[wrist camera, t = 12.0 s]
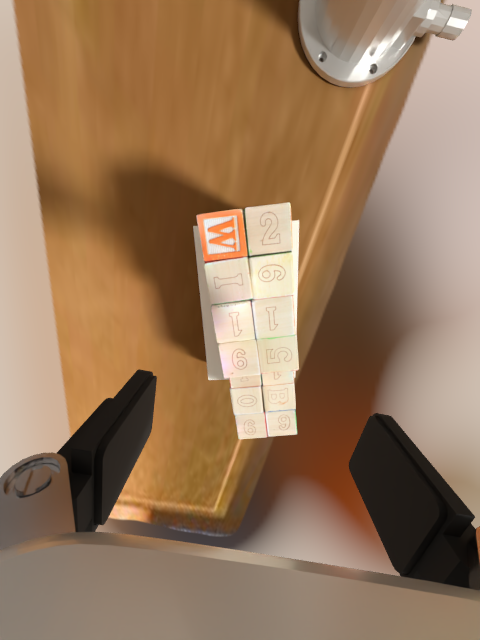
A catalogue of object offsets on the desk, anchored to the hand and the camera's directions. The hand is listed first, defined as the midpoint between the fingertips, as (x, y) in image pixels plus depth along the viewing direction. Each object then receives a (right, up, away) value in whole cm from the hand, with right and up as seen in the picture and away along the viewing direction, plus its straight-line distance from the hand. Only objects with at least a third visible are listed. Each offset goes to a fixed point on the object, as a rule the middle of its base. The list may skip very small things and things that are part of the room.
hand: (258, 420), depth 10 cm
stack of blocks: (+1, +5, +20) cm, 21 cm away
